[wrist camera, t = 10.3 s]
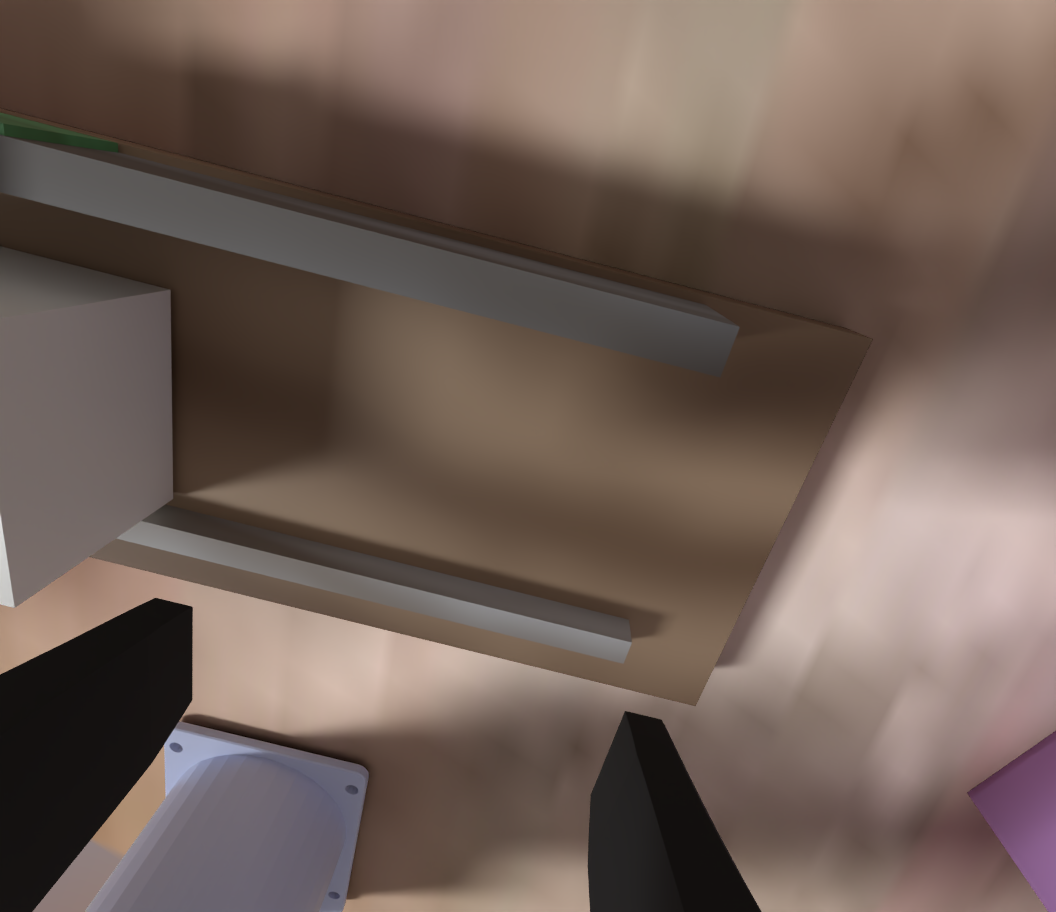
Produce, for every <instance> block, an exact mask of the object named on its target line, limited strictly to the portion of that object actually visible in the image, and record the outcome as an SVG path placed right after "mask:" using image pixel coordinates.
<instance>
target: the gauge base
mask: <svg viewBox="0 0 1056 912" xmlns="http://www.w3.org/2000/svg"><path fill="white" fill-rule="evenodd" d="M0 246H1V247H5V248H9V249H13V250H17V251H21V252H25V253H29V254H33V255H37V256H41V257H45V258H48V259H52V260H56V261H60V262H64V263H68V264H72V265H76V266H80V267H84V268H88V269H91V270H95V271H99V272H103V273H107V274H111V275H115V276H119V277H123V278H127V279H131V280H134V281H138V282H142V283H146V284H150V285H154V286H158V287H162V288H166V289H170V290H171V369H172V448H173V499H172V500H171V501H169V502H168V503H166V504H165V505H164V506H162V507H161V508H159V509H158V510H156V511H155V512H153V513H152V514H150V515H149V516H148V517H146V518H145V519H143V520H142V521H140V522H139V523H137V524H136V525H134V526H133V527H132V528H130V529H129V530H127V531H126V532H124V533H123V534H121V535H120V536H118V537H117V538H116V539H114V540H113V541H111V542H110V543H108V544H107V545H105V546H104V547H102V548H101V549H100V550H98V551H97V552H95V553H94V554H92V555H91V556H89V557H92V558H96V559H100V560H104V561H108V562H112V563H116V564H120V565H124V566H128V567H133V568H137V569H141V570H145V571H149V572H153V573H157V574H161V575H165V576H169V577H173V578H177V579H181V580H185V581H189V582H193V583H198V584H202V585H206V586H210V587H214V588H218V589H222V590H226V591H230V592H234V593H238V594H242V595H246V596H250V597H254V598H258V599H262V600H267V601H271V602H275V603H279V604H283V605H287V606H291V607H295V608H299V609H303V610H307V611H311V612H315V613H319V614H323V615H327V616H331V617H336V618H340V619H344V620H348V621H352V622H356V623H360V624H364V625H368V626H372V627H376V628H380V629H384V630H388V631H392V632H396V633H400V634H405V635H409V636H413V637H417V638H421V639H425V640H429V641H433V642H437V643H441V644H445V645H449V646H453V647H457V648H461V649H465V650H469V651H474V652H478V653H482V654H486V655H490V656H494V657H498V658H502V659H506V660H510V661H514V662H518V663H522V664H526V665H530V666H534V667H539V668H543V669H547V670H551V671H555V672H559V673H563V674H567V675H571V676H575V677H579V678H583V679H587V680H591V681H595V682H599V683H603V684H608V685H612V686H616V687H620V688H624V689H628V690H632V691H636V692H640V693H644V694H648V695H652V696H656V697H660V698H664V699H668V700H672V701H677V702H681V703H685V704H689V705H693V706H696V704H697V702H698V700H699V698H700V696H701V693H702V691H703V689H704V687H705V685H706V683H707V681H708V679H709V677H710V675H711V673H712V671H713V669H714V667H715V665H716V662H717V660H718V658H719V656H720V654H721V652H722V650H723V648H724V646H725V644H726V642H727V640H728V638H729V636H730V634H731V631H732V629H733V627H734V625H735V623H736V621H737V619H738V617H739V615H740V613H741V611H742V609H743V607H744V605H745V603H746V600H747V598H748V596H749V594H750V592H751V590H752V588H753V586H754V584H755V582H756V580H757V578H758V576H759V574H760V572H761V569H762V567H763V565H764V563H765V561H766V559H767V557H768V555H769V553H770V551H771V549H772V547H773V545H774V543H775V541H776V538H777V536H778V534H779V532H780V530H781V528H782V526H783V524H784V522H785V520H786V518H787V516H788V514H789V512H790V510H791V507H792V505H793V503H794V501H795V499H796V497H797V495H798V493H799V491H800V489H801V487H802V485H803V483H804V481H805V479H806V476H807V474H808V472H809V470H810V468H811V466H812V464H813V462H814V460H815V458H816V456H817V454H818V452H819V450H820V448H821V445H822V443H823V441H824V439H825V437H826V435H827V433H828V431H829V429H830V427H831V425H832V423H833V421H834V419H835V417H836V414H837V412H838V410H839V408H840V406H841V404H842V402H843V400H844V398H845V396H846V394H847V392H848V390H849V388H850V386H851V383H852V381H853V379H854V377H855V375H856V373H857V371H858V369H859V367H860V365H861V363H862V361H863V359H864V357H865V355H866V352H867V350H868V348H869V346H870V344H871V342H872V340H873V339H871V338H869V337H866V336H864V335H861V334H859V333H856V332H854V331H851V330H849V329H846V328H843V327H839V326H835V325H831V324H828V323H824V322H820V321H816V320H812V319H808V318H805V317H801V316H797V315H793V314H789V313H785V312H782V311H778V310H774V309H770V308H766V307H762V306H758V305H755V304H751V303H747V302H743V301H739V300H735V299H732V298H728V297H724V296H720V295H716V294H712V293H709V292H705V291H701V290H697V289H693V288H689V287H685V286H682V285H678V284H674V283H670V282H666V281H662V280H659V279H655V278H651V277H647V276H643V275H639V274H635V273H632V272H628V271H624V270H620V269H616V268H612V267H609V266H605V265H601V264H597V263H593V262H589V261H586V260H582V259H578V258H574V257H570V256H566V255H562V254H559V253H555V252H551V251H547V250H543V249H539V248H536V247H532V246H528V245H524V244H520V243H516V242H513V241H509V240H505V239H501V238H497V237H493V236H489V235H486V234H482V233H478V232H474V231H470V230H466V229H463V228H459V227H455V226H451V225H447V224H443V223H439V222H436V221H432V220H428V219H424V218H420V217H416V216H413V215H409V214H405V213H401V212H397V211H393V210H390V209H386V208H382V207H378V206H374V205H370V204H366V203H363V202H359V201H355V200H351V199H347V198H343V197H340V196H336V195H332V194H328V193H324V192H320V191H317V190H313V189H309V188H305V187H301V186H297V185H293V184H290V183H286V182H282V181H278V180H274V179H270V178H267V177H263V176H259V175H255V174H251V173H247V172H243V171H240V170H236V169H232V168H228V167H224V166H220V165H217V164H213V163H209V162H205V161H201V160H197V159H194V158H190V157H186V156H182V155H178V154H174V153H170V152H167V151H163V150H159V149H155V148H151V147H147V146H144V145H140V144H136V143H132V142H128V141H124V140H121V139H117V138H113V137H109V136H105V135H101V134H97V133H94V132H90V131H86V130H82V129H78V128H74V127H71V126H67V125H63V124H59V123H55V122H51V121H47V120H44V119H40V118H36V117H32V116H28V115H24V114H21V113H17V112H13V111H9V110H5V109H1V108H0Z"/></svg>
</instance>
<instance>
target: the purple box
mask: <svg viewBox="0 0 1056 912" xmlns="http://www.w3.org/2000/svg"><path fill="white" fill-rule="evenodd" d="M967 793H968V795H969V796H970V798H971V799H972V801H973V802H974V804H975V805H976V807H977V808H978V809H979V811H980V812H981V814H982V815H983V817H984V818H985V820H986V821H987V823H988V824H989V826H990V827H991V829H992V830H993V831H994V833H995V834H996V836H997V837H998V839H999V840H1000V842H1001V843H1002V845H1003V846H1004V848H1005V849H1006V850H1007V852H1008V853H1009V855H1010V856H1011V858H1012V859H1013V861H1014V862H1015V864H1016V865H1017V867H1018V868H1019V870H1020V871H1021V872H1022V874H1023V875H1024V877H1025V878H1026V880H1027V881H1028V883H1029V884H1030V886H1031V887H1032V889H1033V890H1034V891H1035V893H1036V894H1037V896H1038V897H1039V899H1040V900H1041V902H1042V903H1043V905H1044V906H1045V908H1046V909H1047V910H1048V912H1056V731H1055V732H1053V733H1052V734H1051V735H1049V736H1048V737H1046V738H1045V739H1043V740H1042V741H1040V742H1039V743H1038V744H1036V745H1035V746H1033V747H1032V748H1030V749H1029V750H1028V751H1026V752H1025V753H1023V754H1022V755H1020V756H1019V757H1018V758H1016V759H1015V760H1013V761H1012V762H1010V763H1009V764H1008V765H1006V766H1005V767H1003V768H1002V769H1000V770H999V771H998V772H996V773H995V774H993V775H992V776H990V777H989V778H987V779H986V780H985V781H983V782H982V783H980V784H979V785H977V786H976V787H975V788H973V789H972V790H970V791H969V792H967Z"/></svg>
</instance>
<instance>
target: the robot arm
mask: <svg viewBox="0 0 1056 912" xmlns="http://www.w3.org/2000/svg"><path fill="white" fill-rule="evenodd" d="M192 611H193V607H191V606H187V605H183V604H179V603H175V602H170V601H166V600H162V599H158V598H154V599H152V600H150V601H148V602H146V603H144V604H142V605H139V606H137V607H135V608H133V609H131V610H129V611H127V612H125V613H123V614H121V615H119V616H117V617H115V618H113V619H111V620H109V621H107V622H105V623H103V624H101V625H99V626H97V627H95V628H93V629H91V630H89V631H87V632H85V633H83V634H81V635H80V636H78V637H76V638H74V639H72V640H70V641H68V642H66V643H64V644H62V645H60V646H58V647H56V648H54V649H52V650H49V651H47V652H45V653H43V654H41V655H39V656H37V657H35V658H33V659H31V660H29V661H27V662H25V663H23V664H21V665H19V666H17V667H15V668H13V669H11V670H9V671H7V672H5V673H3V674H1V675H0V912H32V911H33V910H34V909H35V908H36V906H37V905H38V904H39V903H40V902H41V900H42V899H43V898H44V897H45V895H46V894H47V893H48V892H49V890H50V889H51V888H52V887H53V885H54V884H55V883H56V882H57V881H58V879H59V878H60V877H61V876H62V874H63V873H64V872H65V870H66V869H67V868H68V867H69V865H70V864H71V863H72V862H73V860H74V859H75V858H76V857H77V855H79V853H80V852H81V851H82V850H83V848H84V847H85V846H86V845H87V843H88V842H89V841H90V840H91V838H92V837H93V836H94V835H95V834H96V832H97V831H98V830H99V829H100V827H101V826H102V825H103V824H104V822H105V821H106V820H107V819H108V817H109V816H110V815H111V814H112V812H113V811H114V810H115V809H116V807H117V806H118V805H119V804H120V802H121V801H122V800H123V799H124V797H125V796H126V795H127V794H128V792H129V791H130V790H131V789H132V787H133V786H134V785H135V784H136V782H137V781H138V780H139V779H140V777H141V776H142V775H143V774H144V772H145V771H146V770H147V768H148V767H149V766H150V765H151V763H152V762H153V760H154V759H155V757H156V756H157V754H158V753H159V751H160V750H161V748H162V747H163V745H164V749H165V790H166V798H165V799H164V801H163V802H162V804H161V805H160V806H159V808H158V809H157V811H156V812H155V813H154V815H153V816H152V818H151V819H150V820H149V822H148V823H147V825H146V826H145V827H144V829H143V830H142V832H141V833H140V834H139V836H138V837H137V839H136V840H135V841H134V843H133V844H132V846H131V847H130V848H129V850H128V851H127V853H126V854H125V855H124V857H123V858H122V860H121V861H120V862H119V864H118V865H117V867H116V868H115V870H114V871H113V872H112V874H111V875H110V877H109V878H108V879H107V881H106V882H105V884H104V885H103V887H102V888H101V889H100V891H99V892H98V894H97V895H96V896H95V898H94V899H93V901H92V902H91V903H90V905H89V906H88V907H87V909H86V910H85V912H342V911H343V909H344V906H345V903H346V898H347V892H348V887H349V881H350V876H351V870H352V865H353V860H354V854H355V849H356V843H357V838H358V832H359V827H360V822H361V816H362V811H363V805H364V800H365V794H366V789H367V784H368V778H369V773H368V771H367V770H366V768H364V767H363V766H361V765H359V764H355V763H351V762H347V761H343V760H338V759H334V758H330V757H326V756H322V755H318V754H314V753H309V752H305V751H301V750H297V749H293V748H289V747H285V746H280V745H276V744H272V743H268V742H264V741H260V740H256V739H252V738H247V737H243V736H239V735H235V734H231V733H227V732H223V731H218V730H214V729H210V728H206V727H202V726H198V725H194V724H189V723H185V722H179V720H180V719H181V717H182V716H183V714H184V712H185V711H186V709H187V708H188V706H189V704H190V703H191V701H192ZM588 879H589V898H590V912H761V910H760V908H759V907H758V905H757V903H756V901H755V899H754V898H753V896H752V894H751V892H750V891H749V889H748V887H747V885H746V883H745V882H744V880H743V878H742V876H741V874H740V873H739V871H738V869H737V867H736V865H735V863H734V861H733V860H732V858H731V856H730V854H729V852H728V850H727V848H726V847H725V845H724V843H723V841H722V839H721V837H720V835H719V834H718V832H717V830H716V828H715V826H714V824H713V822H712V820H711V818H710V816H709V814H708V812H707V810H706V808H705V806H704V804H703V802H702V800H701V798H700V796H699V794H698V792H697V790H696V788H695V786H694V784H693V782H692V780H691V778H690V776H689V774H688V772H687V770H686V768H685V766H684V764H683V762H682V760H681V758H680V756H679V754H678V752H677V750H676V748H675V745H674V743H673V741H672V739H671V737H670V735H669V733H668V731H667V729H666V727H665V725H664V723H663V722H662V720H660V719H656V718H652V717H648V716H643V715H639V714H635V713H631V712H627V711H625V713H624V715H623V718H622V720H621V723H620V725H619V727H618V730H617V732H616V735H615V737H614V740H613V742H612V745H611V747H610V749H609V752H608V754H607V757H606V759H605V762H604V764H603V767H602V769H601V771H600V774H599V776H598V779H597V781H596V784H595V786H594V788H593V791H592V793H591V802H590V822H589V846H588Z"/></svg>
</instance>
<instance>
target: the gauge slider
mask: <svg viewBox="0 0 1056 912" xmlns="http://www.w3.org/2000/svg"><path fill="white" fill-rule="evenodd" d="M172 499H173V448H172V369H171V290H170V289H166V288H162V287H158V286H154V285H150V284H146V283H142V282H138V281H134V280H131V279H127V278H123V277H119V276H115V275H111V274H107V273H103V272H99V271H95V270H91V269H88V268H84V267H80V266H76V265H72V264H68V263H64V262H60V261H56V260H52V259H48V258H45V257H41V256H37V255H33V254H29V253H25V252H21V251H17V250H13V249H9V248H5V247H1V246H0V604H1V605H5V606H9V607H13V608H15V607H17V606H18V605H20V604H21V603H22V602H24V601H25V600H27V599H28V598H30V597H31V596H33V595H34V594H36V593H37V592H38V591H40V590H41V589H43V588H44V587H46V586H47V585H49V584H50V583H52V582H53V581H54V580H56V579H57V578H59V577H60V576H62V575H63V574H65V573H66V572H68V571H69V570H70V569H72V568H73V567H75V566H76V565H78V564H79V563H81V562H82V561H84V560H85V559H86V558H88V557H89V556H91V555H92V554H94V553H95V552H97V551H98V550H100V549H101V548H102V547H104V546H105V545H107V544H108V543H110V542H111V541H113V540H114V539H116V538H117V537H118V536H120V535H121V534H123V533H124V532H126V531H127V530H129V529H130V528H132V527H133V526H134V525H136V524H137V523H139V522H140V521H142V520H143V519H145V518H146V517H148V516H149V515H150V514H152V513H153V512H155V511H156V510H158V509H159V508H161V507H162V506H164V505H165V504H166V503H168V502H169V501H171V500H172Z"/></svg>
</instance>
